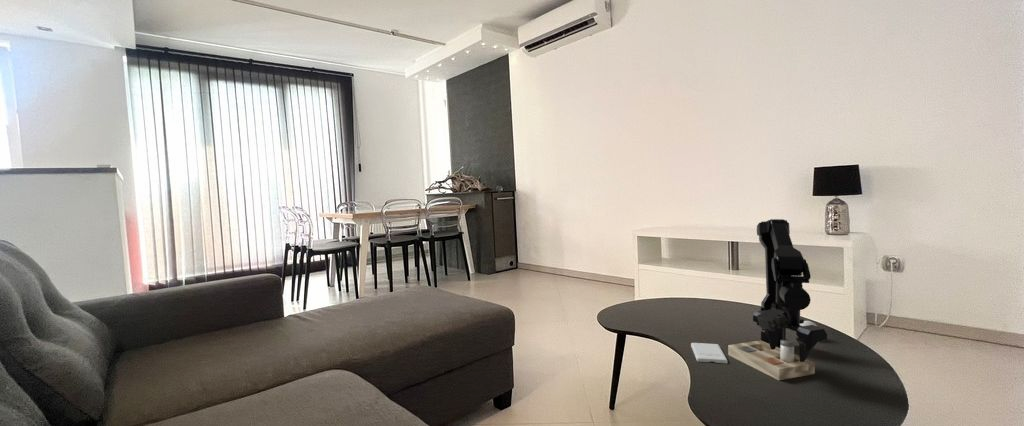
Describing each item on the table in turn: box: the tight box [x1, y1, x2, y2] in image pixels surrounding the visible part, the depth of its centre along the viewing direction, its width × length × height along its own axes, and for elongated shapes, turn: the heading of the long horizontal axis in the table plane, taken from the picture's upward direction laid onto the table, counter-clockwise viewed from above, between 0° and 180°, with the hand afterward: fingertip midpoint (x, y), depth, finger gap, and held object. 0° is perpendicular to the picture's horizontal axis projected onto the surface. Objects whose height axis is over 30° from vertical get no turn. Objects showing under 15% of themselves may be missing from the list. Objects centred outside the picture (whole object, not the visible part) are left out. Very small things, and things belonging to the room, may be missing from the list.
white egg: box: [800, 320, 818, 327], centre depth 146 cm, size 8×6×6 cm
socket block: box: [727, 339, 816, 381], centre depth 126 cm, size 12×18×3 cm, turn 15°
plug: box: [780, 338, 795, 363], centre depth 121 cm, size 3×3×8 cm
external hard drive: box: [690, 342, 728, 364], centre depth 134 cm, size 2×8×12 cm
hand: (787, 355), depth 121 cm, fingers open, 9 cm apart
